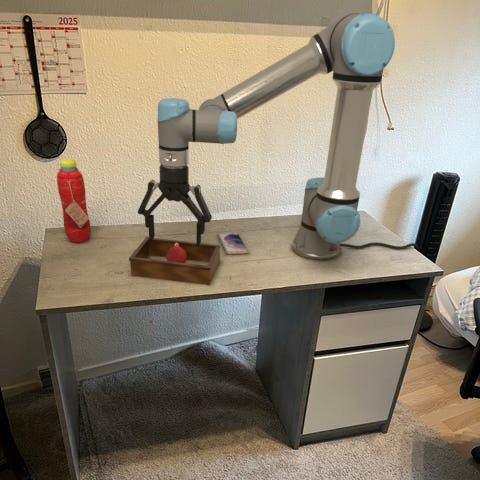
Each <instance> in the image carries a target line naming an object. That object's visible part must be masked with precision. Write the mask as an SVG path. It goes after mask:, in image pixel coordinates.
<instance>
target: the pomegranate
mask: <svg viewBox="0 0 480 480" xmlns="http://www.w3.org/2000/svg"><path fill="white" fill-rule="evenodd" d="M187 260H188V259H187V255H186V252H185V250H184V249H183V248H182V247H180V246H179V244H178V243H175V245H174V246H173V247H171V248H170V249H169V250H168V252H167V257H166V261H171V262H180V263H187Z"/></svg>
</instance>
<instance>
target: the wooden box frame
mask: <svg viewBox="0 0 480 480" xmlns="http://www.w3.org/2000/svg"><path fill="white" fill-rule="evenodd" d="M175 243H178V244H179V246H180V247H182V248H183V249H184V250H185V252H186V255H187V260H190V261H198V262H207V264H206V265H205V264H197V263H196V264H195V263H187V262H185V263H180V262H171V261H167V260H163V259H162V260H161V259H153V258H148V257H149V256H155V257H163V258H167V252H168V250H169V249H170V248H171V247H173V246H174V245H175ZM221 245H222V244H221ZM221 245H220V244H212V243H202V242H201V243H200V245H199V246H196V241H186V240H176V239H168V238H159V237H158V238H157V237H154V238H153V239H152V240H149V236H146V237H144V239H143V240H142V242H141V243H140V244H139V245H138V246H137V248H136V249H135V250H134V251H133V253H132V254H131V255H130V256H129V257H128V261H129V265H130V276H132V277H133V276H134V277H140V278H147V279H157V280H166V281H174V282H183V283H190V284H199V285H206V286H210V285H211V282H212V280H213V278H214V277H215V273H216V271H217V268H218V266H219V264H220V262H221V261H220V258H221V256H220V255H221V248H222V246H221Z"/></svg>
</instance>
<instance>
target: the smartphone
mask: <svg viewBox="0 0 480 480" xmlns="http://www.w3.org/2000/svg"><path fill="white" fill-rule="evenodd" d="M217 236H218V239H219V241H220V243H221V245H222V247H223V249H224V251H225V253H226V254H227V255H239V254H240V255H241V254H248V253H249V250H248V248H247V246H246V245H245V243H244V241H243V240H242V238H241V236H240V235H239V233H238V232H219V233H217Z"/></svg>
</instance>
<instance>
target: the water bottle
mask: <svg viewBox="0 0 480 480" xmlns="http://www.w3.org/2000/svg"><path fill="white" fill-rule="evenodd" d="M59 166H60V168H59V169H58V172H57V174H56V183H57V184H56V185H57V190H58V195H59V198H60V203H61V208H62V217H63V228H64V233H65V235H66V237H67V238H68V240H69V242H72V243H76V244H77V243H78V244H80V243H85V242H87V241H89V239H90V236H91V233H92V231H91V223H90V217H89V213H88V209H87V199H86V198H87V197H86V186H85V185H86V184H85V180H84V177H83V176H84V175H83V174H82V172H81V171H80V170H79V169H78V167H77V166H78V164H77V162H76V160H75V159H70V158H65V159H61V160H60V161H59Z"/></svg>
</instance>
